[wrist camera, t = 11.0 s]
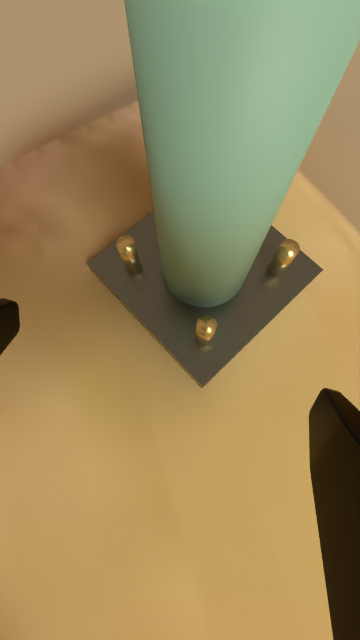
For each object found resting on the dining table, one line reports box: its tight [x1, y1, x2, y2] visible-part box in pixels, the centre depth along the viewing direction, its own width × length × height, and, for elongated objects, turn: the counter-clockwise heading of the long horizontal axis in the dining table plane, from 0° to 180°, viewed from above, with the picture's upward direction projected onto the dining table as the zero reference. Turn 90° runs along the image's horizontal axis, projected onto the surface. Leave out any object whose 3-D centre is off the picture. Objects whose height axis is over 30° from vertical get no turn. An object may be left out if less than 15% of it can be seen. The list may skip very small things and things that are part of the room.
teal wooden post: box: [124, 0, 360, 307], centre depth 12 cm, size 5×5×14 cm
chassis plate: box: [87, 210, 323, 388], centre depth 18 cm, size 10×10×4 cm
